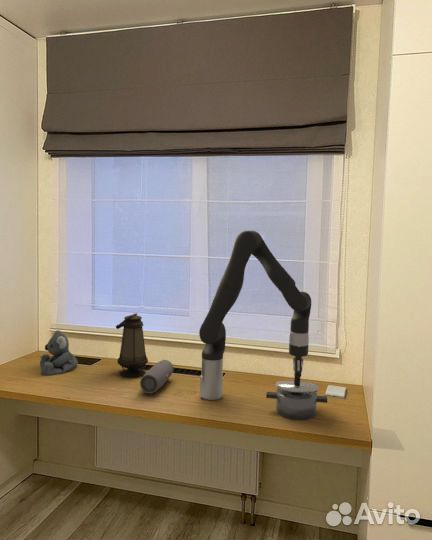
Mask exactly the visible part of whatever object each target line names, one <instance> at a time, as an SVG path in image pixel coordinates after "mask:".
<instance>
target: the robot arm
mask: <svg viewBox="0 0 432 540" xmlns="http://www.w3.org/2000/svg"><path fill="white" fill-rule="evenodd" d="M251 255H252V256H253V257H255V258H256V259H257V261H258V262H259V263H260V264H261V266H262V268H263V269H264V271H265V273H266V274H267V277H268V278H269V280H270V281H271V283H272V284H273V285H274V286H275V287H276V288H277V289H278V292H280V293H281V294H282V296H283V298H284V300H285V302H286V304H287V305H288V306H289V307H290V309H292V310H293V314H292V317H291V320H290V331H289V336H288V337H289V338H288V339H289V340H288V354H289V355H290V356H293V357H292V364H293V365H292V366H293V368H292V369H293V372H294V373H293V374H294V379H293V381H294V385H296V386H300V381H301V377H302V372H303V368H304V367H303V366H304V358H303V357H308V356H309V342H310V337H309V336H310V335H309V330H310V323H309V321H310V316H311V309H312V298H311V296H310V294H309V293H308V292H306V291H300V290H299V289H298V287H297V286H296V281H295V280H294V278H293V277H292V276H291V275H290V273H288V271H287V270H286V269H285V268H284V266H283V265H282V264H281V263H280V262H279V261H278V259H277V258H276V256H274V254H273V253H272V252H271V250H270V248H269V247H268V245H267V243H266V242H265V241H264V239H263V237H262V236H261V234H260V233H259V232H258V231H255V230H243V231H241V232H239V234H237V236H236V238H235V241H234V245H233V247H232V251H231V255H230V258H229V261H228V263H227V265H226V268H225V269H224V272H223V274H222V277H221V279H220V282H219V284H218V287H217V288H216V289H217V290H216V292H215V295H214V297H213V300H212V303H211V306H210V308H209V310H208V312H207V313H206V314H207V315H206V316H205V318H204V320H203V322H202V324H201V325H200V328H199V333H198V334H199V339H200V340H201V342H202V343H203V344H205V346H204V348H203V349H202V350H201V370H200V371H201V374H200V377H199V378H200V380H199V398H201V399H205V400H208V401H209V400H210V401H215V400H219V399H221V398H222V397H223V377H224V375H223V373H224V353H225V349H226V339H227V338H226V337H227V332H226V331H227V330H226V326H225V324H224V323H223V321H224V320H225V317H226V316H227V314H228V312H229V311H231V308H233V306H234V305H235V303H236V302H237V300H238V297H239V296H240V293H241V291H242V289H243V285H244V280H245V270H246V268H247V267H246V266H247V264H248V261H249V260H250V257H251Z"/></svg>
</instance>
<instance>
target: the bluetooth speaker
mask: <svg viewBox="0 0 432 540" xmlns="http://www.w3.org/2000/svg"><path fill="white" fill-rule="evenodd" d="M145 372H146V373H145V375H144V376H142V377H141V379H140V382H139V386H140V388H141V390H142V391H143V392H145V393H146V394H154V393H155V392H157V391H159V390H160V389H161V388H162V386H163V385H164V384H165V383H166V382H167V381H168V380H169V379H170V377H171V376H172V374H173V372H174V365H173V364H172V362H171V361H170V360H168V359H162V360H159V361H158V362H157V363H155V364H154V365H153V366H152V367H151V368H149V369H148V370H147V371H145Z"/></svg>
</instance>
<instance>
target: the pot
mask: <svg viewBox="0 0 432 540" xmlns="http://www.w3.org/2000/svg"><path fill="white" fill-rule="evenodd" d="M265 395H266V397H265V398H266V399H273V400H275V401H276V402H275V412H276V414H278V415H279V416H280V417H283V418H285V419H289V420H293V421H294V420H295V421H307V420H311V419H314V418H315V417H316V416H317V403H325V404H327V403H328V396H325V395H318V393H317V392H313V393H297V392H289V391H283V390H280V389H277V388H276V392H273V391H266V394H265Z"/></svg>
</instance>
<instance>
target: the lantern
mask: <svg viewBox="0 0 432 540" xmlns="http://www.w3.org/2000/svg"><path fill="white" fill-rule="evenodd" d="M143 327H144V322H143V321H142V316H141V315H138V313H133V314H130V315H127V316H124V318H123V321H121V322H120V323H118V324H117V325H115V328H116V329H117V330H119V329H121V328H122V336H121V343H120V344H121V345H120V352H119V357H118V358H117V361H116V362H117V364H118V365H120V367H121V369H122V370H121V371H120V372H119V376H120V377H122V378H125V379H135V378H142V377H143V376H144V375H145V373H146V372H147V371H145V370H144V369H142V367H144V366H145V365H146V364H147V363H148V362H149V358H148V357H147V354H146V348H145V347H146V345H145V336H144V330H143V329H144V328H143Z"/></svg>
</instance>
